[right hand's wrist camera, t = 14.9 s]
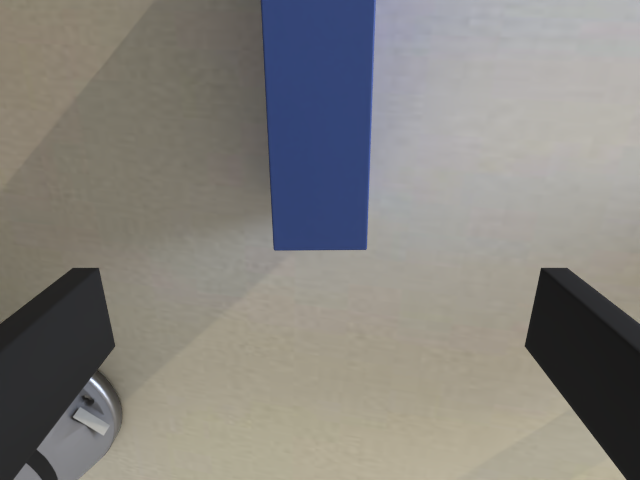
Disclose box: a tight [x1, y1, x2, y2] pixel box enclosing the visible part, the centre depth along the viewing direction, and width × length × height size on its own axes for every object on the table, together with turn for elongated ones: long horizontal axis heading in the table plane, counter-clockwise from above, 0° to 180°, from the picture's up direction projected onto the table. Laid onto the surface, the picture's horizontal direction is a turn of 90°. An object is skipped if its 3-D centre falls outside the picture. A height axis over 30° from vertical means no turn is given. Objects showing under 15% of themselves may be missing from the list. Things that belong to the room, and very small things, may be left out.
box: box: [261, 0, 376, 250], centre depth 27 cm, size 24×6×11 cm, turn 0°
